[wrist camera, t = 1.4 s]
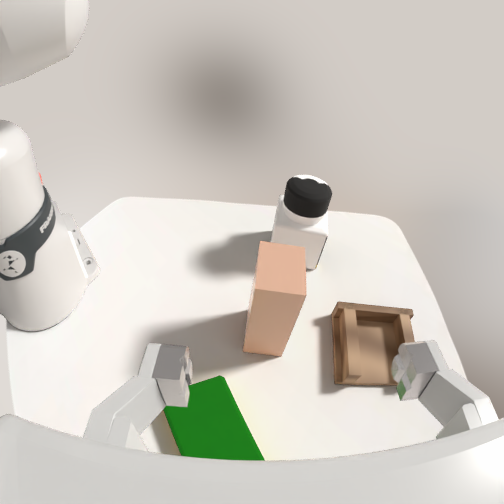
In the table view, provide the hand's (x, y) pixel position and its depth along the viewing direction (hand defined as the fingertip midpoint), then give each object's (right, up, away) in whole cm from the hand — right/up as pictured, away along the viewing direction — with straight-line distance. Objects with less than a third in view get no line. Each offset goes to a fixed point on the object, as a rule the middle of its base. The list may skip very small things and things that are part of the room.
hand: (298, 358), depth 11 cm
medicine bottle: (+4, +4, +38) cm, 38 cm away
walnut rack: (+14, -8, +26) cm, 31 cm away
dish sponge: (-5, -16, +17) cm, 24 cm away
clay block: (0, -6, +27) cm, 27 cm away
